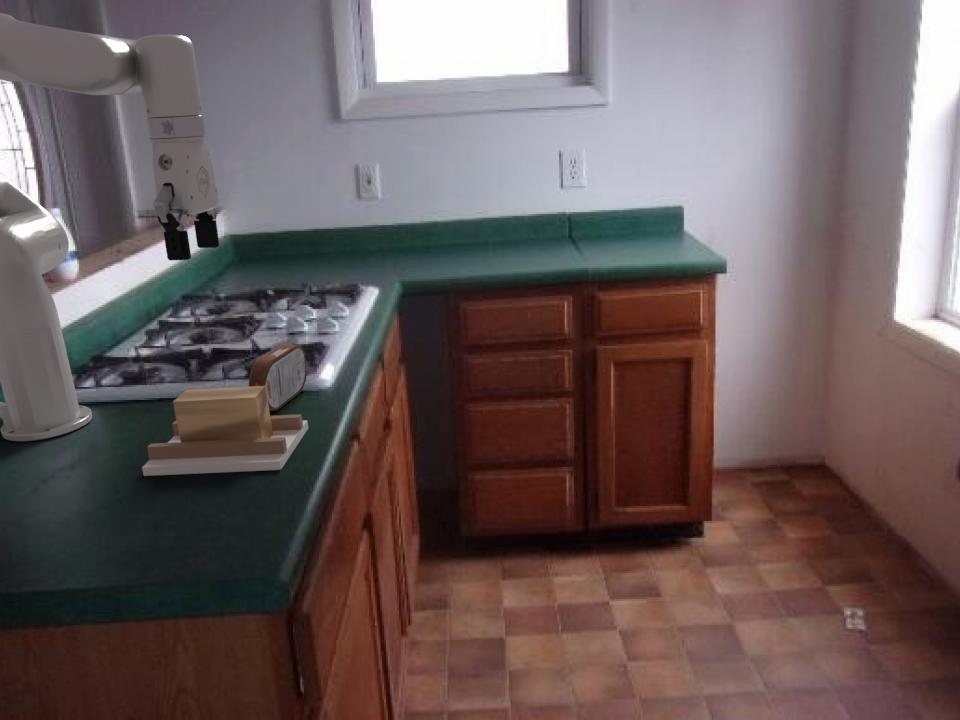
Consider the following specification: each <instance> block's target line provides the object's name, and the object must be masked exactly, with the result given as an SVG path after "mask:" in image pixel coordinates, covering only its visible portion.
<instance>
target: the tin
mask: <svg viewBox="0 0 960 720" xmlns="http://www.w3.org/2000/svg"><path fill="white" fill-rule="evenodd" d="M306 360H307V359H306V352H305V350H304V348H303V347H302V346H300V345H298V344H288V343H281V344H279V345H278V346H275V348H273V349H271V350H270V351H267V352H266V353H265V354H262V355H261V356H259V357H257V359H256V360H255V361H254V363H253V364H252V365H253V366H252V367H251V370H250V374H249V377H248V387H254V386H266V392H267V399H268V405H269V411H270V412H276V411H277V410H278V411H279V409H280V408H282V407H283V406H285V405H286V404H287V403H288V402H290V401H291V400H292V399H294V398H295V397H297V396H299V394H300V393H301V392H302V391H303V389H304V387H305V384H306V381H307V373H308V371H307V361H306Z"/></svg>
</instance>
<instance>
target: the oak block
mask: <svg viewBox="0 0 960 720" xmlns="http://www.w3.org/2000/svg"><path fill="white" fill-rule="evenodd" d="M172 404H173V409H174V414H175V415H174V416H175V419H176V420H175V421H177V425H178V431H179V436H180V441H181V442H195V441H215V440H236V439H257V438H271V436H272V435H273V430H272V424H271V417H270V416H271V414H270V413H271V411H269V405H268V399H267V392H266V386H254V387H249V386H237V387H235V386H234V387H220V388H203V389H202V388H201V389H200V388H199V389H185V391H183V392H182V393H181V394H180V395H179V396H177V398H176V399H174V400H173V401H172Z"/></svg>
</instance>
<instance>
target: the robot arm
mask: <svg viewBox="0 0 960 720" xmlns="http://www.w3.org/2000/svg"><path fill="white" fill-rule="evenodd" d="M0 81H6V82H17V83H21V84H28V85H31V86H32V85H33V86H38V87H44V88H47V89H53V90H61V91H66V92H72V93H78V94H83V95H91V96H126V95H131V94H136V93H141V96H142V101H143V102H142V103H143V108H144V109H143V110H144V115H145V120H146V127H147V133H148V141H149V144H151V145H152V164H153V165H152V166H153V175H154V185H155V186H154V187H155V194H156V197H155V199H154V201H153V207H154V210H155V212H156V215H157V221H158V223H160V229H161V232H163V237H164V243H165V244H164V245H165V250H166V255H167V257H166V259H167V260H169V261H189V260H191V258H192V253H191V247H190V241H189V235H188V234H189V233H188V230H186V229H185V227H186V226H185V225H186V221H187V216H188V214H189V215H191V216H194V218H195V219H196V220H193V225H194V229H195V237H196V238H195V239H196V246H197V248H199V249H207V248H208V249H211V248H212V249H213V248H215V249H216V248H218V247H219V246H220V239H219V233H218V232H219V231H218V225H217V213H216V208H217V207H218V206H219V196H218V195H219V194H218V189H217V184H216V183H217V182H216V178H215V174H214V168H213V163H212V158H211V154H210V150H209V147H208V144H207V141H206V140H207V136H206V127H205V120H204V118H205V117H204V114H203V105H202V98H201V90H200V82H199V75H198V68H197V60H196V53H195V47H194V44H193V42H192V41H191V39H190V38H188V37H187V36H184V35H181V34H151V35H144V36H141V37H139V38H138V39H131V38H130V39H129V38H122V37H115V36H110V35H104V34H96V33H90V32H84V31H76V30H70V29H66V28H58V27H52V26H49V25H48V26H47V25H42V24H37V23H32V22H26V21H23V20H19V19H16V18H15V17H13V16H12V15H10V14H6V13H4V12H3V13H2V12H0ZM184 229H185V230H184ZM69 243H70V242H69V237H68V235H67V232H66V230H65V228H64V227H63V225H62V224H61V223H60V221H59V220H58V219H57V218H56V217H55V216H54V215H53V214H52V213H50V211H48V210H47V209H45V208H44V207H43V206H42V204H40V203H38V202H37V201H36V200H35V199H33V198H32V197H31V196H30V195H29V194H27V193H26V192H25V190H22V189H21V187H19V186H18V185H17V184H15V183H14V182H13V181H12V180H11V179H10V178H8V177H7V176H6V175H5V174H3V173H2V172H0V385H1V388H2V393H3V398H4V401H5V402H3V401H0V419H1V420H3V424H2V425H1V427H0V433H1V437H2V438H3V439H5V440H7V441H11V442H12V441H13V442H33V441H40V440H45V439H51V438H54V437H59V436H63V435H65V434H68V433H72V432H73V431H75V430H78V429H80V428H82V427H83V426H86V425H87V424H88V423H89V422H91V420H92V419H93V412H92V409H91V408H90V407H88V406H85V405H79V400H78V396H77V392H76V387H75V383H74V378H73V373H72V370H71V366H70V361H69V358H68V353H67V352H68V351H67V347H66V343H65V339H64V334H63V331H62V326H61V321H60V318H59V314H58V310H57V309H58V308H57V306H56V303H55V300H54V298H53V297H54V296H52V293H51V292H50V290H49V287H48V285H47V284H46V282H45V280H44V277H43V275H44V274H46V273H48V272H50V271H52V270H54V269H56V268H57V267H59V266H60V265H61V264H62V263H63V262H64V261H65V260H66V258H67V256H68V253H69V249H70V247H69V246H70V245H69Z"/></svg>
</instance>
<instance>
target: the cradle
mask: <svg viewBox="0 0 960 720" xmlns="http://www.w3.org/2000/svg"><path fill="white" fill-rule="evenodd" d="M270 417H271V424H272V430H273V435H272V436H271V438H257V439H236V440H215V441H195V442H181V441H180V436H179V431H178V425H177V420H175V421H173V422H172V423H171V425H172V429H173V434H174V435H173V436H172V437H171V438H170V440H169V441H168V442H159V443H158V442H155V443H149V444H148V445H147V447H146V449H147V453H148V454H147V455H148V458H149V459H148V461H147V462H146V463H144V465H143V466H142V467H141V469H142V474H143V476H144V477H148V476H152V477H153V476H169V475H170V476H171V475H172V476H173V475H175V476H176V475H192V474H194V475H195V474H196V475H198V474H215V473H216V474H218V473H236V472H239V473H240V472H257V471H258V472H259V471H261V472H262V471H281V470H282V468H283V467H284V466H285V464H286V463H287V461H288V460H289V458H290V457H291V455H292V454H293V452H294V450H295V449H296V448H297V446H298V445H299V444H300V442H301V440H302V439H303V437H304V436H305V434H306V433H307V432H308V429H309V423H308V420H305V419H304V420H303V416H302V414H300V413H299V414H281V415H280V414H279V415H270Z"/></svg>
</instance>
